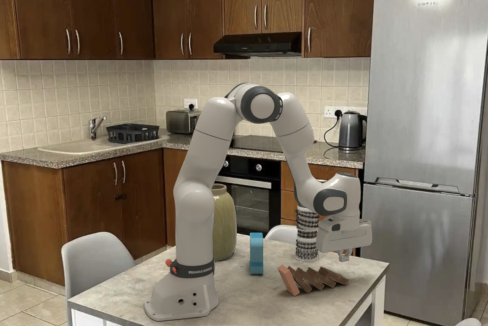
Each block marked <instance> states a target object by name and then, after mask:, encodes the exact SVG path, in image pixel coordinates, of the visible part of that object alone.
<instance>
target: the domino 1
mask: <svg viewBox="0 0 488 326" xmlns="http://www.w3.org/2000/svg"><path fill="white" fill-rule="evenodd" d="M287 268H288V267H286V266H285V265H284V264H281V265H280V266H278V267H277V268H276V269H277V270H278V273H279V275H280V278H281V279H282V282H283V283H284V284H283V285H284V286H285V288H286V290H287V291H288V292H289V293H291V294H292V295H293V297H296V296H297V295H299V294H300V290H299V288H298V286H297V285H298V284H297V283H296V282H295V281H294V279H293V276H292V274H291V272H290V270H289V269H287Z"/></svg>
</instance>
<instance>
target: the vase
mask: <svg viewBox="0 0 488 326" xmlns="http://www.w3.org/2000/svg"><path fill="white" fill-rule="evenodd" d="M227 189H228V188H227V185H225V184H222V183H214V184H213V186H212V191H211V192H212V194H213V196H214V222H213V232H212V241H213V257H214V262H216V261H222V260H223V261H224V260H226V259H228V258H230V257H232V255H233V253H234V251H235V249H236V246H237V242H238V241H237V239H238V238H237V236H238V232H237V231H238V230H237V229H238V227H237V214H236V206H235V201H234V198H233V197H232V196H231V194H230V193H229V192H228V191H227Z"/></svg>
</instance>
